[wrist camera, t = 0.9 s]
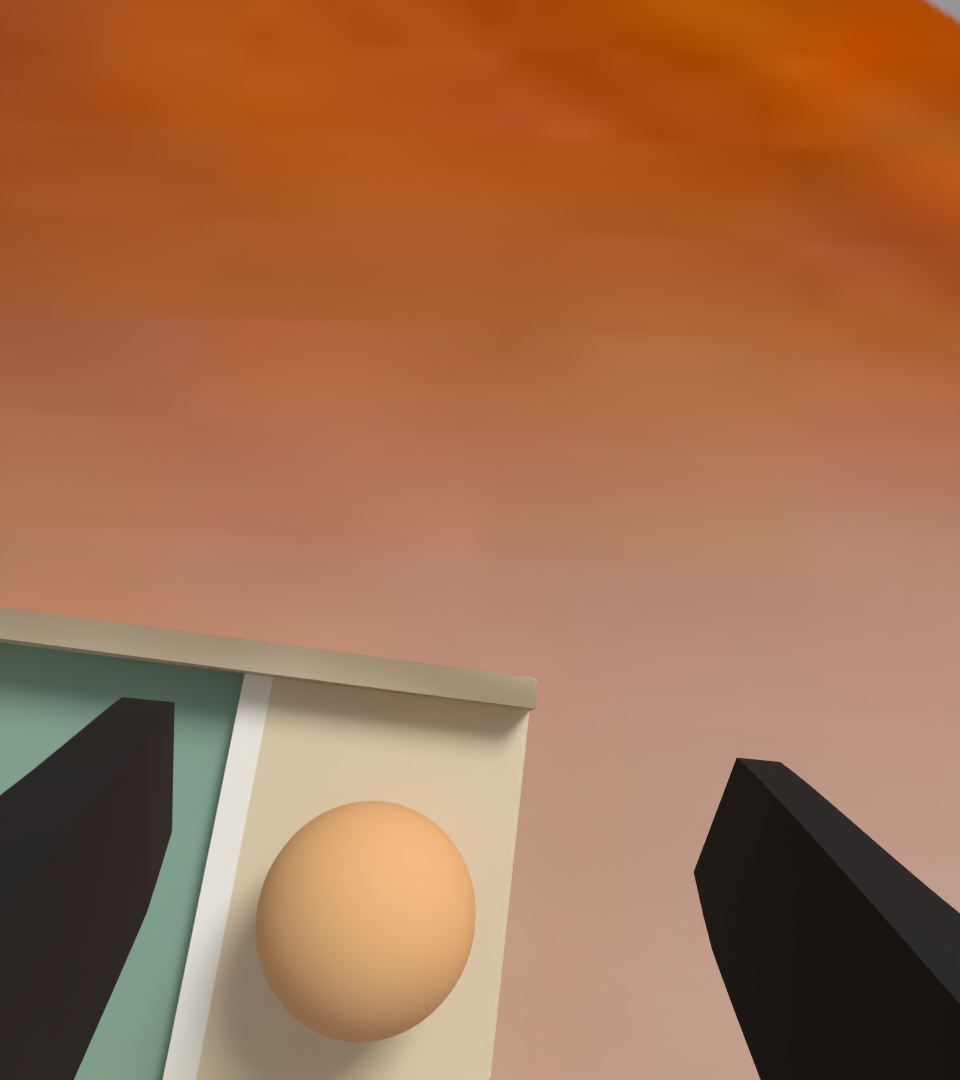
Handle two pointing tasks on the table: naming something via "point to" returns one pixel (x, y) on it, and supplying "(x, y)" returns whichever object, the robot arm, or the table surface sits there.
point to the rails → (265, 659)
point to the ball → (365, 921)
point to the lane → (255, 841)
